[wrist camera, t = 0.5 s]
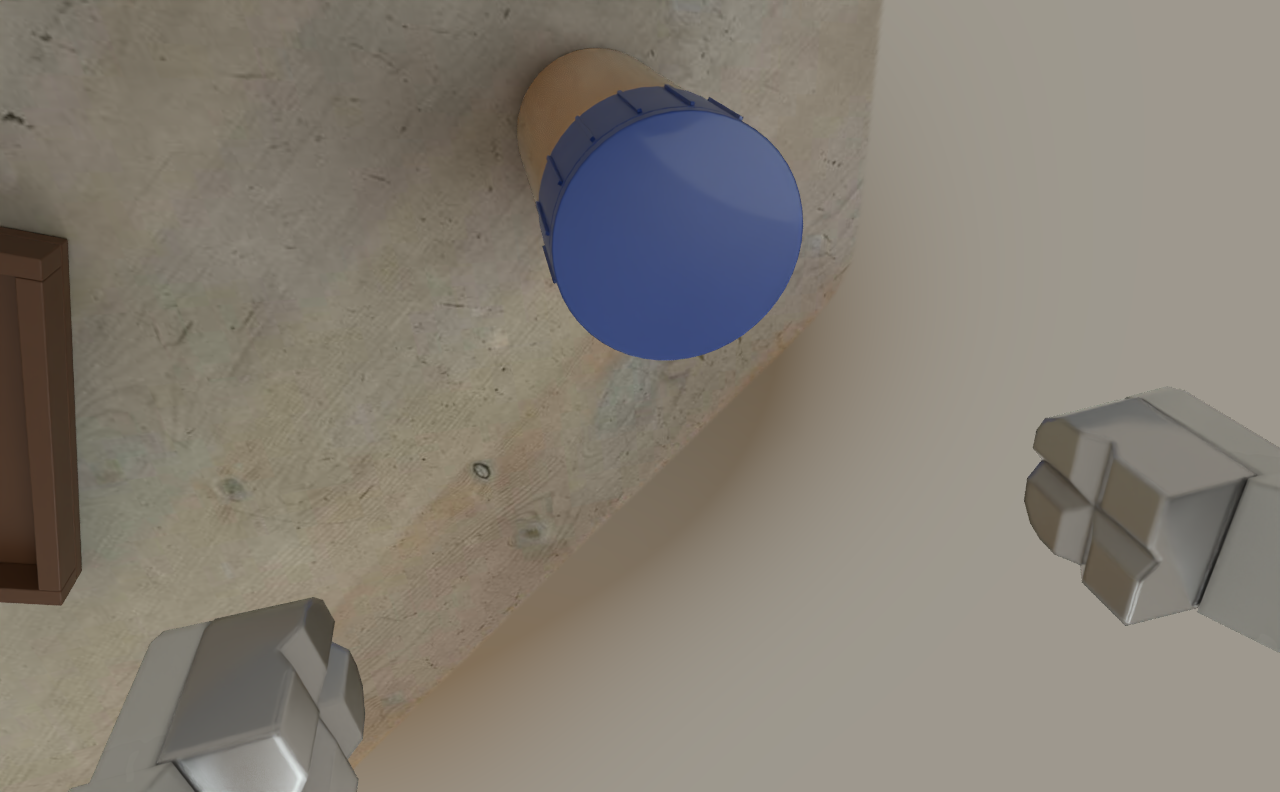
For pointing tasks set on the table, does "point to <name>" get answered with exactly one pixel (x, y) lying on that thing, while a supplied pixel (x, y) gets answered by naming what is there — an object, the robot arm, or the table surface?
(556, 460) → the table surface
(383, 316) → the table surface
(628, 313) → the jam lid
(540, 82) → the jam jar
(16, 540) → the walnut tray
